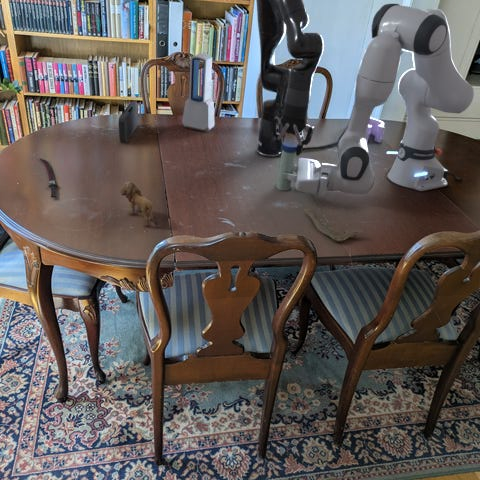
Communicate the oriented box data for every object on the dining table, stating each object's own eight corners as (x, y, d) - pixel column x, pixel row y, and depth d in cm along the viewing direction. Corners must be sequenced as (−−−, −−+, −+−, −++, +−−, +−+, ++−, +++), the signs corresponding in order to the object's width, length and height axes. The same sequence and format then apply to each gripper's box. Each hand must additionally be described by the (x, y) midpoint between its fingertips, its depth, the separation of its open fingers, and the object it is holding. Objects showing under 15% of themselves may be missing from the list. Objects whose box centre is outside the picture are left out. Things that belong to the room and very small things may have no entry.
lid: (278, 149, 152) (279, 144, 151) (285, 144, 157) (285, 139, 156) (293, 153, 151) (294, 148, 150) (299, 148, 155) (300, 143, 154)
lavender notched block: (343, 126, 223) (346, 112, 219) (367, 127, 225) (371, 113, 221) (360, 142, 206) (364, 127, 202) (386, 142, 209) (390, 127, 205)
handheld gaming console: (132, 123, 199) (131, 100, 194) (138, 124, 200) (137, 100, 194) (118, 143, 180) (117, 117, 175) (125, 143, 180) (124, 118, 175)
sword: (61, 197, 141) (61, 193, 140) (50, 198, 139) (50, 194, 139) (49, 160, 164) (48, 156, 163) (39, 160, 163) (39, 157, 162)
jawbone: (347, 249, 132) (348, 244, 131) (288, 222, 142) (289, 217, 141) (362, 236, 138) (364, 230, 136) (304, 210, 148) (305, 205, 147)
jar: (276, 183, 163) (282, 142, 155) (290, 185, 163) (296, 144, 155) (276, 189, 159) (282, 147, 151) (289, 191, 159) (297, 149, 151)
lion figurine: (118, 210, 138) (116, 182, 133) (132, 204, 141) (131, 177, 137) (151, 229, 130) (150, 201, 126) (165, 223, 134) (165, 195, 129)
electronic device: (214, 128, 204) (219, 56, 188) (208, 133, 198) (212, 59, 182) (188, 122, 207) (190, 51, 191) (181, 127, 201) (183, 54, 185)
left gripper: (271, 99, 145) (264, 150, 154) (315, 109, 140) (305, 161, 149) (280, 94, 150) (273, 144, 159) (322, 104, 146) (313, 154, 155)
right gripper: (325, 156, 164) (286, 151, 165) (326, 180, 147) (282, 174, 148) (321, 172, 168) (283, 167, 168) (322, 198, 150) (280, 192, 151)
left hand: (288, 152), depth 154 cm, fingers open, 6 cm apart
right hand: (283, 171), depth 158 cm, fingers closed on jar, 5 cm apart
